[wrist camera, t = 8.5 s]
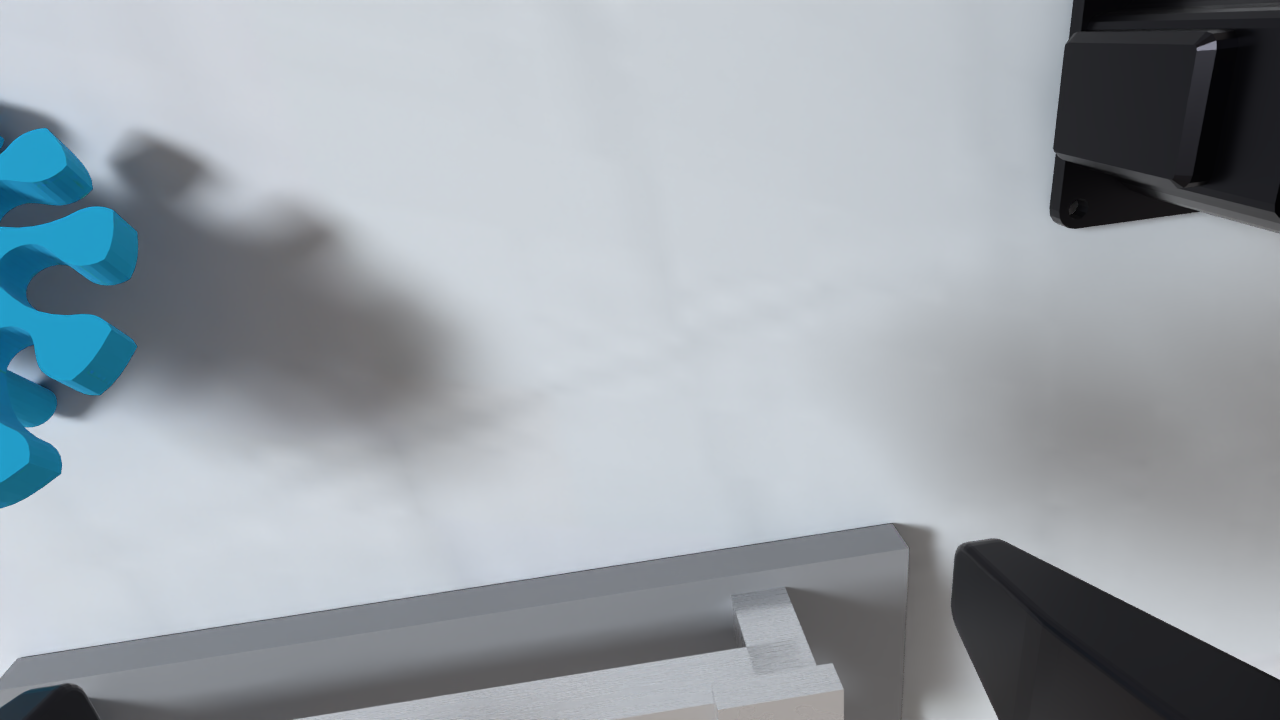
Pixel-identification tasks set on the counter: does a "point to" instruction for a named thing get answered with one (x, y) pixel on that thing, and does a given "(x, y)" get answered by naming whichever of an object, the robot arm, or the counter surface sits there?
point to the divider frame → (665, 683)
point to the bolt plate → (510, 637)
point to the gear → (64, 344)
